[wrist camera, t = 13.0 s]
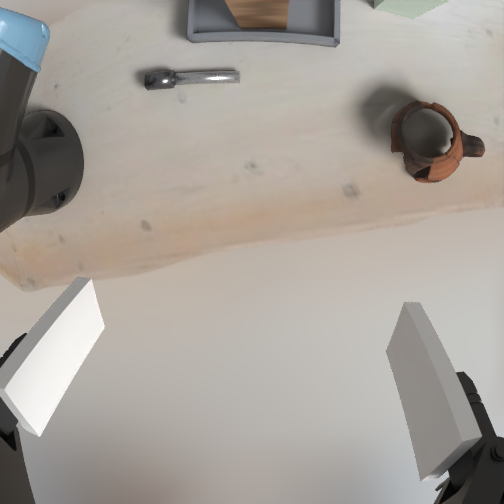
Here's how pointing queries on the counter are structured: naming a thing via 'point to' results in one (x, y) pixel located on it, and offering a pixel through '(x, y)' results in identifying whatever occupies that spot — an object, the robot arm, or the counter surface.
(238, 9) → the walnut block
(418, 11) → the sage block
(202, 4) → the slate tray
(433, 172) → the pottery mug
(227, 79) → the rod
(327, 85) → the counter surface
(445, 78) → the counter surface
